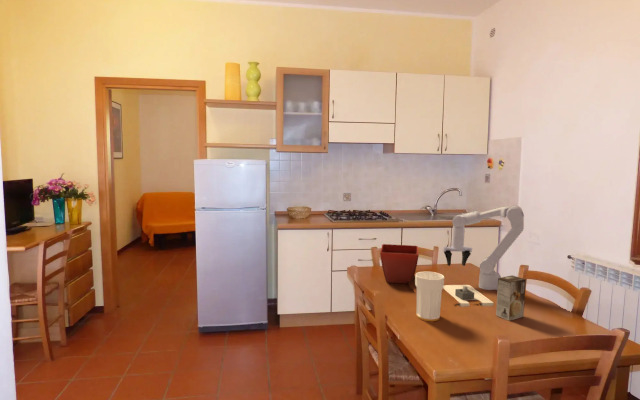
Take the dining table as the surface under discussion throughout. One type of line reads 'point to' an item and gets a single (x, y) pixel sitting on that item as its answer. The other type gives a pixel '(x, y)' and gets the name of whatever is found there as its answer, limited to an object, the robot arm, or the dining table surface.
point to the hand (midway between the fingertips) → (456, 265)
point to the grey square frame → (464, 294)
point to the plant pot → (399, 262)
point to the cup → (429, 295)
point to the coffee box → (510, 297)
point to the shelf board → (463, 302)
